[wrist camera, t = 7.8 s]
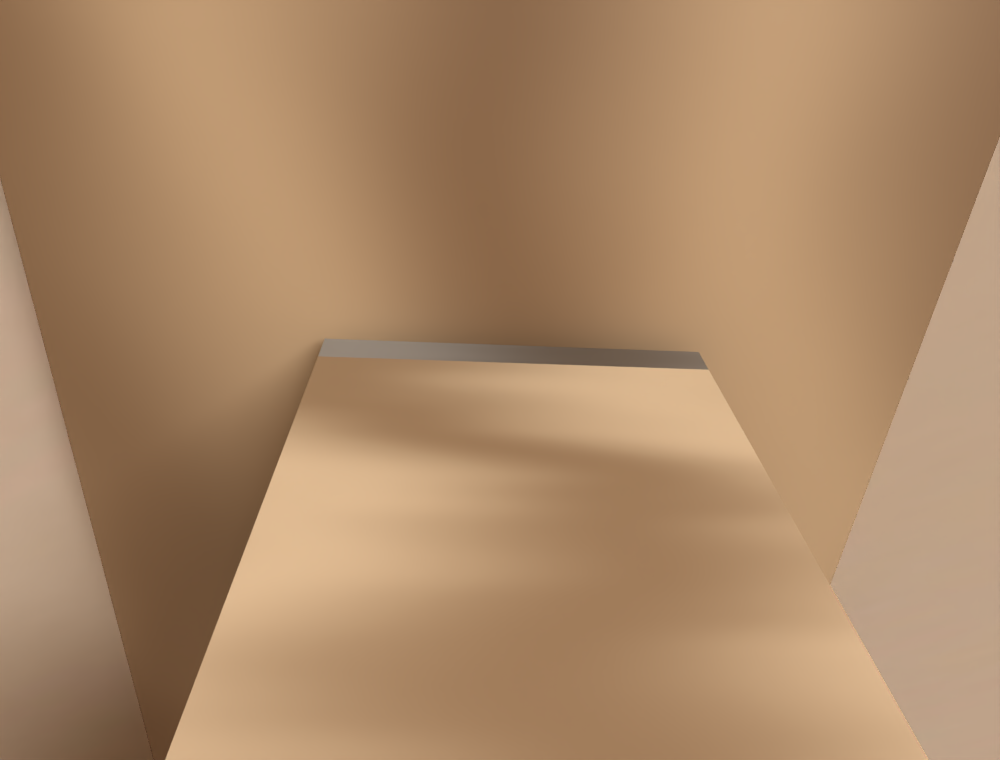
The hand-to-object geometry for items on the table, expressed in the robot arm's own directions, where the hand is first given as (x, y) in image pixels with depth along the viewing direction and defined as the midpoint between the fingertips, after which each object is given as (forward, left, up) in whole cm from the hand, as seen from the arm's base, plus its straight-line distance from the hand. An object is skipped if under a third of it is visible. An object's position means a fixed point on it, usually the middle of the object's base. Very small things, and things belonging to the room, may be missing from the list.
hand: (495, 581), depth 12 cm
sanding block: (0, 0, 0) cm, 0 cm away
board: (0, -2, -2) cm, 3 cm away
